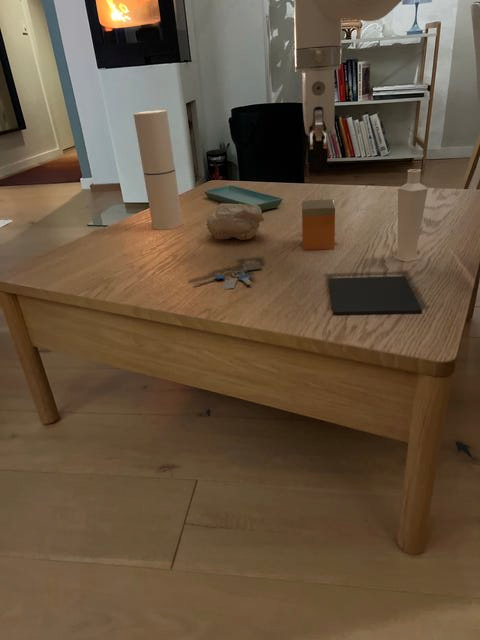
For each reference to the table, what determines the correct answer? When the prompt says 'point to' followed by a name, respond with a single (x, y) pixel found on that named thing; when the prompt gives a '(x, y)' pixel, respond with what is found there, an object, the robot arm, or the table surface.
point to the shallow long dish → (243, 197)
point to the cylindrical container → (158, 168)
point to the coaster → (372, 296)
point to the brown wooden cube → (318, 224)
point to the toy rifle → (231, 282)
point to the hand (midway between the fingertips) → (316, 167)
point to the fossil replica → (235, 221)
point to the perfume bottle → (410, 215)
